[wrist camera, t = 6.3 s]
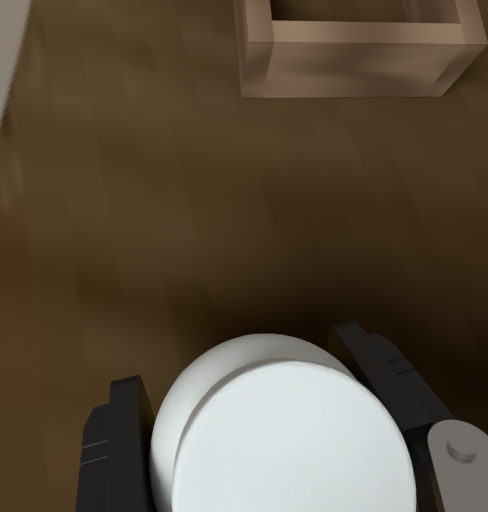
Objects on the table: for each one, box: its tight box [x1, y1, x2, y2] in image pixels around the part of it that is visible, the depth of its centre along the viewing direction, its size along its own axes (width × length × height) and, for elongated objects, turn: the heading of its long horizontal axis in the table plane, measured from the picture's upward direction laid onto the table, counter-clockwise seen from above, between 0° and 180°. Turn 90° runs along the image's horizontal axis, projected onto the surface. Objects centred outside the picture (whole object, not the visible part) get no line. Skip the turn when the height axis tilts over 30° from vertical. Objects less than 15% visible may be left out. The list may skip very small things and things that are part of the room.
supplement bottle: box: [149, 334, 416, 512], centre depth 11 cm, size 5×5×10 cm
